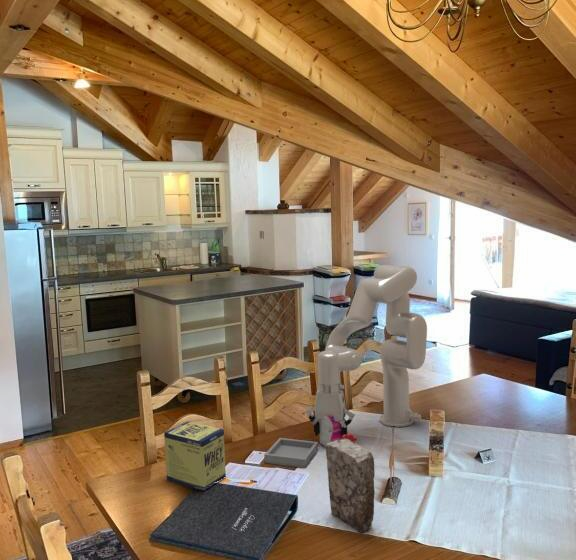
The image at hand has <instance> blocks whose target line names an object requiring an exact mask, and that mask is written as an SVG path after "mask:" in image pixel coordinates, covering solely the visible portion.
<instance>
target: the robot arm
mask: <svg viewBox="0 0 576 560" xmlns="http://www.w3.org/2000/svg"><path fill="white" fill-rule="evenodd" d="M373 271H374V272H373V277H365V278H363V279H361V280H360V281H359V282H358V285H357V287H356V290H355V293H354V297H353V299H352V302H351V305H350V307H349V310H348V313H347V315H346V317H344V319H343V320H341V321H340V322H339V323H338V325H337V324H336V325H337V326H336V327H335V328H334V329H333V330H332V331H331V332H330V335H329V337H328V339H327V342H326V346H325V348H324V350H323V351H320V352H319V353H318V355H317V379H318V380H317V381H318V382H317V385H318V388H317V390H316V393H315V401H314V406H312V407H310V408H308V409H307V410H305V413H306V415H307V417H308V420H310V422H311V423H312V425H313V433H314V435H315V437H318V435H320V420H323V418H324V416H333V417H334V420H335V421H338V422H340V423H341V425H342V428H341V432H342V436H343V435H348V426H349V425H350V424H351V423H352V421H353V420H354V418H355V417H356V416H355V413H353V412H352V411H350V410H348V409H347V408H346V400H345V394H344V391H343V390H344V389H345V384H342V382H341V372H351V371H355V370H357V369H359V368H360V367H361V365H362V362H363V357H362V354H361V353H360V352H359V351H358V350H357V349H354V348H351V347H346V346H344V344H345V342H346V341H347V339H348V337H349V336H350V335H351V334H353V333H355V332H357V331H359V330H362V329H364V328H367V327H368V326H370V325H371V323H372V319H373V317H374V314H375V311H376V308H377V305H378V303H379V304H386V307H385V308H386V309H385V330H386V332H387V333H388V334H389V335H391V336H395V337H398V338H404V339H406V340H402V339H401V340H400V339H394V338H391V339H390V338H389V339H386V340H385V341H384V342H382V344H381V346H380V348H379V356H380V361H381V367H382V381H383V382H382V383H383V384H382V387H383V389H382V391H383V394H382V395H383V399H382V400H383V414H381V415H380V416H379V422H380V423H381V424H382V425H384V426H388V427H393V426H395V428H400V427H401V428H402V427H407V426H411V425H412V424H413V423H414V420H419V421H421V420H422V414H419V412H413V411H412V410H411V409H412V408H411V407H410V390H409V389H410V388H409V386H410V384H409V383H410V382H409V381H410V380H409V379H410V378H409V372H408V370H419V369H421V367H422V366H423V365H424V363H425V360H426V355H427V354H426V353H427V337H428V325H427V321H426V319H425V318H424V316H423V315H421V314H419V313H415V312H414V313H413V312H410V309H411V307H410V306H411V305H410V303H411V301H410V295H409V294H410V293H409V292H410V291H411V290H412V289H413V288H414V287H415V285H416V283H417V280H418V276H417V272H416V270H415V269H414V268H413V267H411V266H409V265H408V266H406V265H395V264H393V265H392V264H381V265H378V266H377V267H376V268H375V269H374V270H373ZM313 412H314V414H313ZM347 416H348V419H346V417H347Z"/></svg>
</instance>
